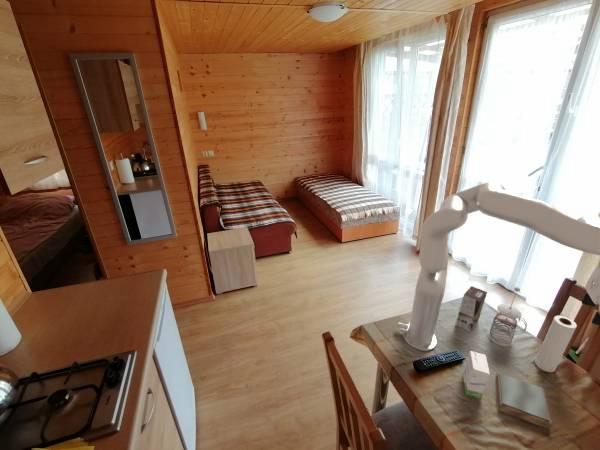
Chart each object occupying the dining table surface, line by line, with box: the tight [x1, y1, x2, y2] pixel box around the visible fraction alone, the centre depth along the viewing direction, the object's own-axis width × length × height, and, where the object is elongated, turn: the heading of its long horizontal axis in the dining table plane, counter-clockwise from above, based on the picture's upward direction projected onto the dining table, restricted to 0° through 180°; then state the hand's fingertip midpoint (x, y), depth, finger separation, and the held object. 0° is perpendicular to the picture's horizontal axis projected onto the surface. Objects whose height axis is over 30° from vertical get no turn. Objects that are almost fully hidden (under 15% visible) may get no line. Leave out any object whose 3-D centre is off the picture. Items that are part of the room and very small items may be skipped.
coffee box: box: [455, 285, 488, 333], centre depth 126 cm, size 9×6×16 cm
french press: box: [485, 286, 528, 347], centre depth 117 cm, size 10×12×25 cm
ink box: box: [462, 350, 491, 399], centre depth 100 cm, size 8×5×12 cm, turn 159°
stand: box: [495, 372, 552, 430], centre depth 97 cm, size 13×13×3 cm
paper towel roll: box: [534, 311, 577, 373], centre depth 105 cm, size 7×6×21 cm
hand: (592, 314), depth 89 cm, fingers open, 9 cm apart
